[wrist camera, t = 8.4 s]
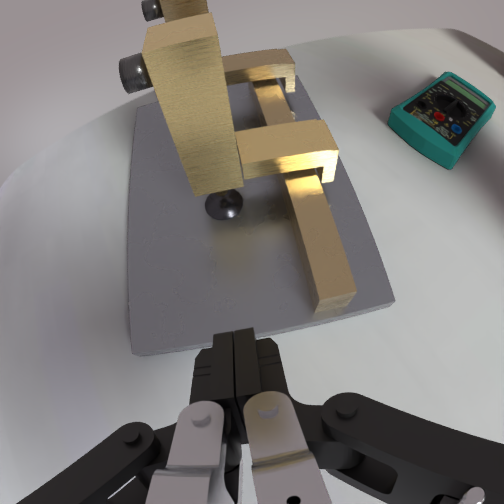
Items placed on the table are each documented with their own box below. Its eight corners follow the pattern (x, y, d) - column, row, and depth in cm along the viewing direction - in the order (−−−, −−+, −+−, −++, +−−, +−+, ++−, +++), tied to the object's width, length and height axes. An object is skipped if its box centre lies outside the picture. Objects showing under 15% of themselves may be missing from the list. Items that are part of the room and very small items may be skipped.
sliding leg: (318, 156, 22) (331, 2, 11) (332, 188, 21) (358, 24, 10) (178, 183, 22) (119, 36, 11) (181, 218, 21) (108, 64, 10)
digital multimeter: (381, 129, 26) (387, 106, 23) (441, 84, 29) (448, 66, 27) (445, 178, 23) (457, 156, 20) (490, 119, 26) (499, 101, 24)
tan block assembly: (283, 79, 27) (278, -37, 16) (371, 299, 18) (476, 154, 7) (177, 99, 27) (143, -14, 16) (195, 336, 18) (68, 228, 6)
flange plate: (297, 84, 29) (297, 74, 27) (389, 306, 19) (396, 300, 17) (141, 116, 29) (137, 106, 27) (139, 356, 18) (131, 353, 17)
